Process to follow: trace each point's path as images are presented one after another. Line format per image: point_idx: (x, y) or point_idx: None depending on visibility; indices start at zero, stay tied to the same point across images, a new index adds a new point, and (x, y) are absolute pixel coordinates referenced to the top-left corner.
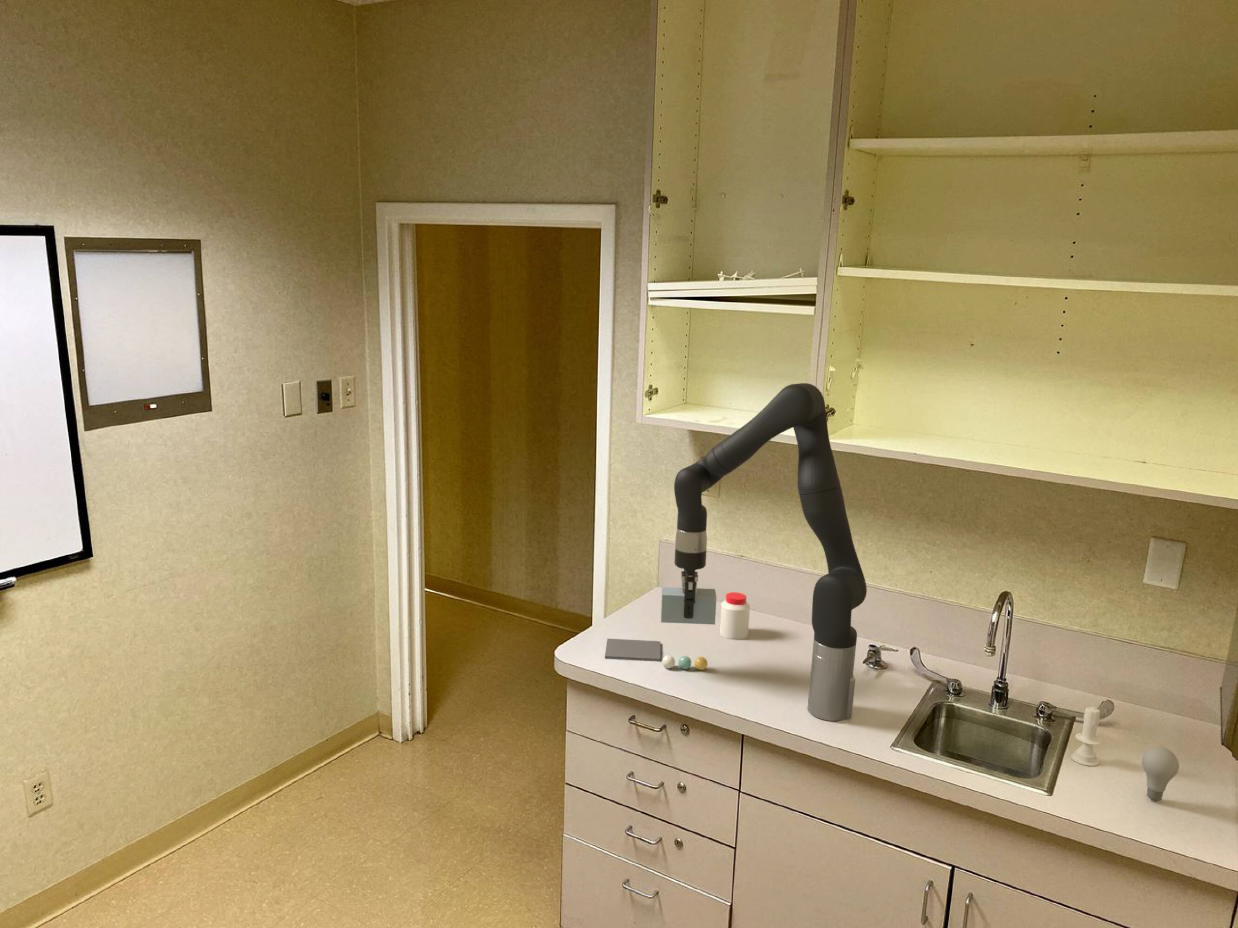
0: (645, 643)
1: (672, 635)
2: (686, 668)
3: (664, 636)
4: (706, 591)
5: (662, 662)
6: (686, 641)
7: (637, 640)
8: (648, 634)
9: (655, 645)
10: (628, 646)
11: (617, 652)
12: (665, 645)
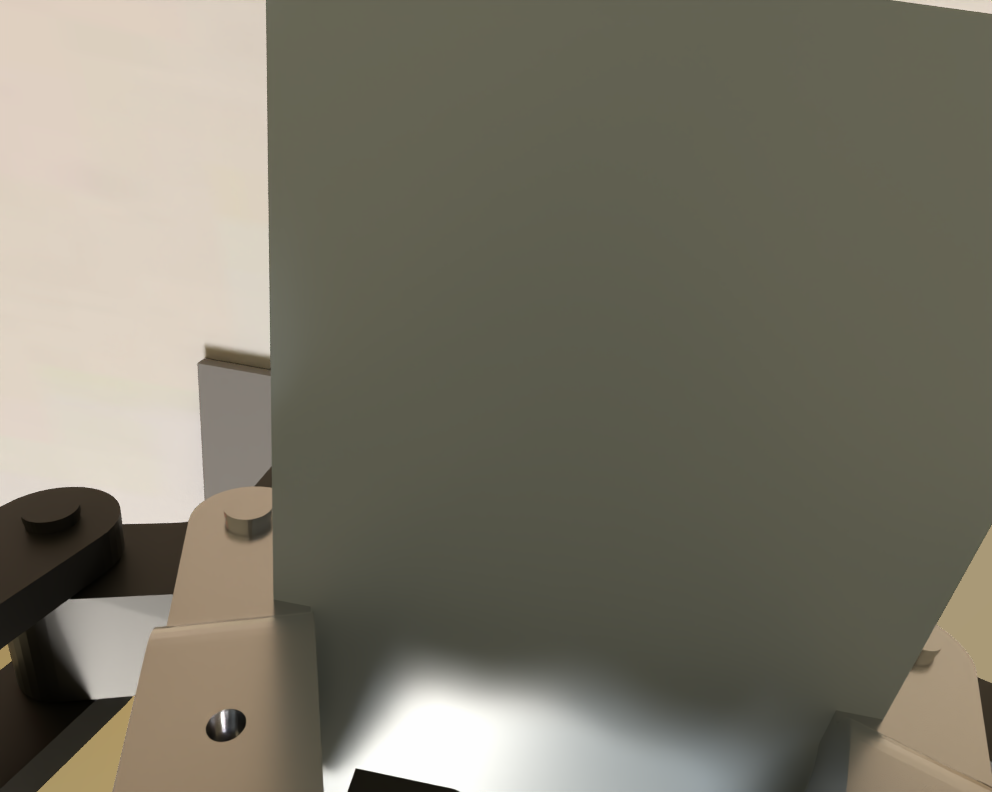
0: (244, 451)
1: (68, 260)
2: None
3: (96, 314)
4: (538, 318)
5: None
6: (143, 182)
7: (210, 485)
8: (90, 402)
9: (264, 402)
10: None
11: None
12: (229, 332)
